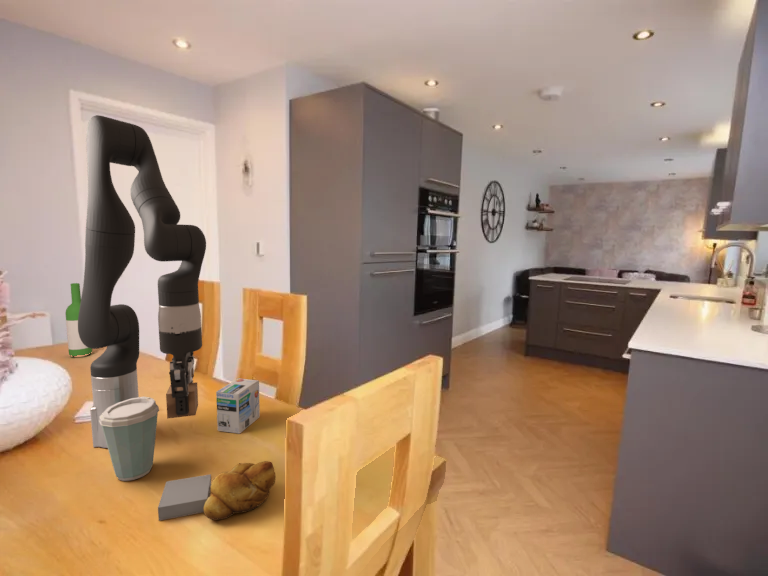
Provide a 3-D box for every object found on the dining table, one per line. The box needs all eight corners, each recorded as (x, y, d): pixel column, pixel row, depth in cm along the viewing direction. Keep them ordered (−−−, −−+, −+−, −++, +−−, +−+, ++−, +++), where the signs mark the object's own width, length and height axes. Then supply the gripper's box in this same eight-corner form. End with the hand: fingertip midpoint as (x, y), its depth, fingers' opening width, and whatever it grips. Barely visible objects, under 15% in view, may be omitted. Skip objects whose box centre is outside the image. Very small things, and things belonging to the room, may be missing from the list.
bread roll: (211, 534, 68) (209, 490, 67) (194, 505, 75) (192, 465, 74) (281, 502, 76) (280, 463, 75) (260, 479, 84) (259, 443, 83)
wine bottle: (74, 359, 160) (68, 285, 156) (65, 356, 164) (59, 283, 160) (96, 354, 167) (90, 283, 163) (87, 351, 171) (81, 282, 167)
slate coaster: (158, 520, 71) (157, 507, 70) (167, 493, 78) (166, 481, 78) (207, 511, 73) (207, 498, 73) (211, 485, 81) (210, 474, 81)
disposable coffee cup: (119, 494, 78) (113, 421, 76) (93, 476, 83) (87, 407, 82) (172, 468, 87) (168, 402, 85) (145, 453, 92) (141, 391, 90)
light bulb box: (240, 434, 102) (238, 394, 101) (216, 431, 103) (214, 391, 102) (260, 416, 112) (260, 379, 111) (239, 413, 114) (238, 377, 112)
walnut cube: (167, 418, 78) (166, 394, 77) (171, 407, 83) (170, 384, 82) (195, 415, 80) (194, 391, 79) (198, 405, 84) (197, 382, 84)
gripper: (165, 320, 84) (170, 397, 86) (151, 336, 71) (156, 427, 73) (204, 318, 87) (207, 393, 89) (197, 333, 73) (201, 421, 76)
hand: (184, 408), depth 81 cm, fingers closed on walnut cube, 5 cm apart
